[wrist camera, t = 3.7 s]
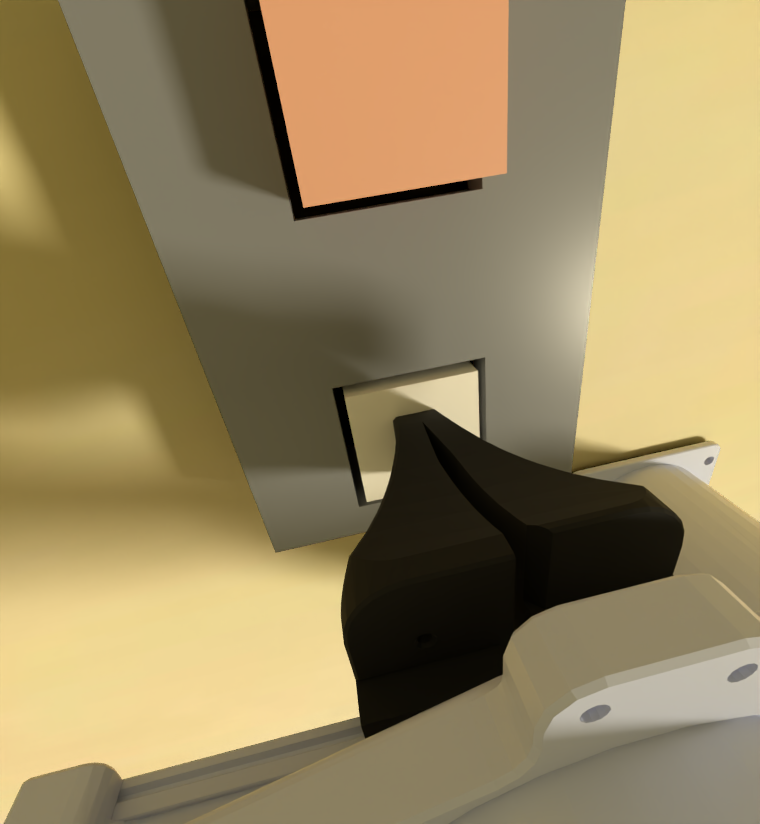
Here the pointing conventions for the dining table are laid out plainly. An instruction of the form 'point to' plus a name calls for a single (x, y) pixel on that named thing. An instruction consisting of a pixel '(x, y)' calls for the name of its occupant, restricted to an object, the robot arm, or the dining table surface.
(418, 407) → the button
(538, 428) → the block
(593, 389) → the dining table surface
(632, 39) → the dining table surface
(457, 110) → the button
